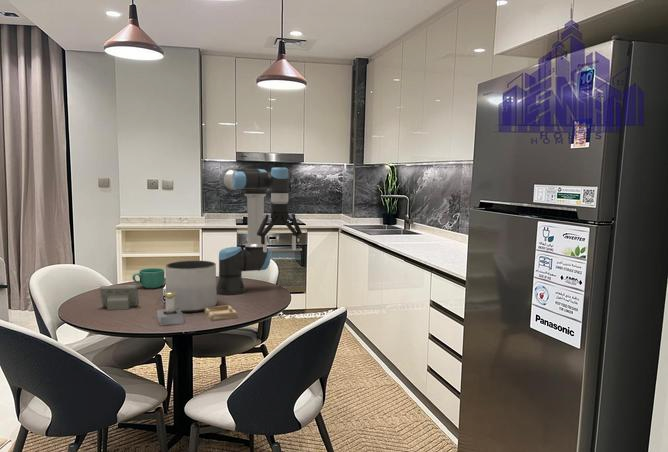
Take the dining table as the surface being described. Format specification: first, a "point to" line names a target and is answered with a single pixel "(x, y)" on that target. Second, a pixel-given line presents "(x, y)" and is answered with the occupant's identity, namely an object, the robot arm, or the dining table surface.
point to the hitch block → (170, 317)
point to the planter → (192, 284)
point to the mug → (150, 277)
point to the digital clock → (119, 297)
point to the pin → (169, 302)
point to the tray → (220, 312)
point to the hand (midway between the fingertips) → (279, 251)
